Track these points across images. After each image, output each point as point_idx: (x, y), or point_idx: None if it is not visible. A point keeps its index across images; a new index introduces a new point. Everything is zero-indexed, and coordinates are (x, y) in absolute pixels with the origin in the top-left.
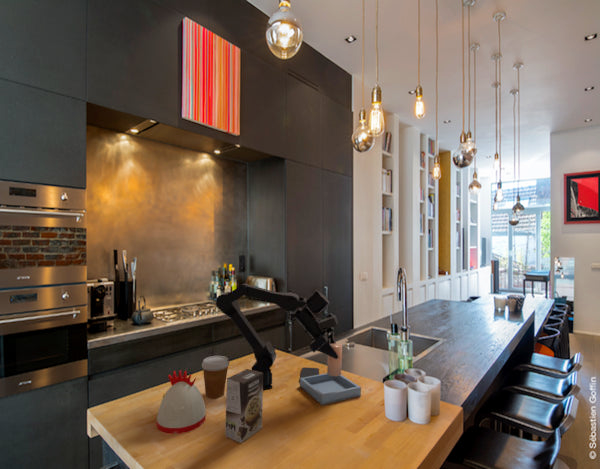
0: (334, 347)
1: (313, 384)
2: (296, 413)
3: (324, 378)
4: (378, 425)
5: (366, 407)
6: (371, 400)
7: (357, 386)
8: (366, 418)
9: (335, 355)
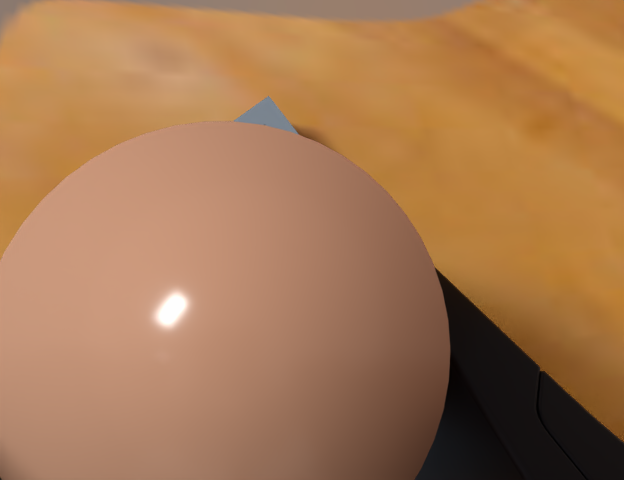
0: (414, 347)
1: None
2: None
3: None
4: (574, 43)
5: (410, 92)
6: (318, 60)
7: (261, 119)
8: (525, 96)
9: None
